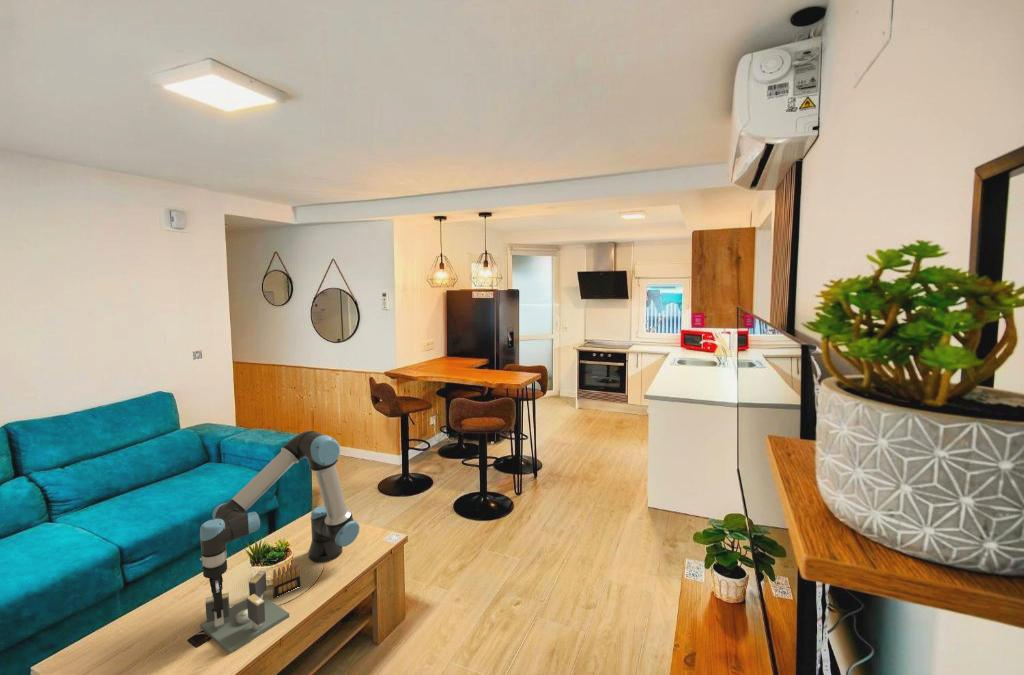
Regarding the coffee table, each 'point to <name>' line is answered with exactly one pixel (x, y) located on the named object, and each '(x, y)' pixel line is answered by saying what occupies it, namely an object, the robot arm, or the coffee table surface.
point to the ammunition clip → (286, 580)
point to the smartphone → (199, 639)
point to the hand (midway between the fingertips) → (219, 621)
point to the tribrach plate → (243, 625)
